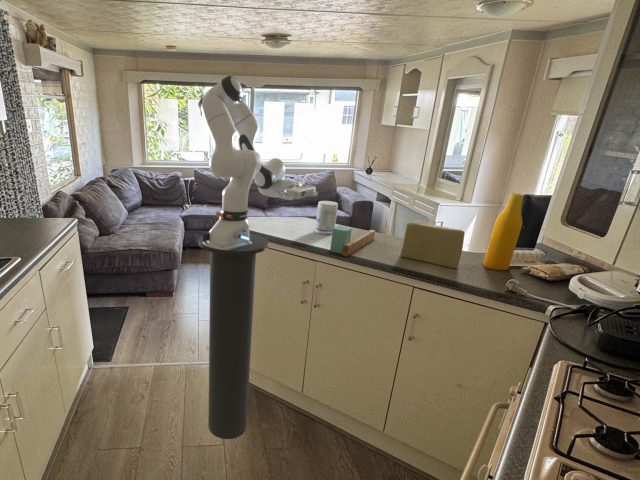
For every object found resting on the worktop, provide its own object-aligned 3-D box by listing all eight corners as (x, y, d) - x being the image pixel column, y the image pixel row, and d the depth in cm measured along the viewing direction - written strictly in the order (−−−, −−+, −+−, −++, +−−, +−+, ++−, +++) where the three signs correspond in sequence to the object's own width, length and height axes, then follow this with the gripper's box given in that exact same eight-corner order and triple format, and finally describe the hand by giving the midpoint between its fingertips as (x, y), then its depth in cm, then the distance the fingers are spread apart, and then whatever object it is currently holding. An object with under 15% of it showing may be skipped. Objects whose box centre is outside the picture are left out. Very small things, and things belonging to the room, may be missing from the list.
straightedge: (346, 256, 179) (348, 246, 177) (341, 255, 180) (342, 244, 178) (373, 239, 204) (375, 230, 203) (368, 238, 206) (370, 229, 204)
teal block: (343, 254, 181) (346, 231, 177) (330, 251, 184) (333, 228, 180) (348, 250, 186) (351, 228, 182) (335, 248, 189) (338, 225, 185)
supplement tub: (311, 230, 217) (315, 200, 211) (329, 229, 219) (332, 200, 213) (319, 235, 208) (323, 204, 202) (337, 234, 210) (341, 204, 204)
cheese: (461, 266, 173) (471, 229, 166) (452, 271, 166) (461, 233, 160) (409, 252, 187) (416, 218, 181) (399, 256, 181) (405, 221, 175)
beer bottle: (509, 272, 168) (532, 197, 156) (482, 268, 171) (503, 194, 160) (507, 265, 175) (530, 194, 163) (482, 261, 179) (502, 191, 167)
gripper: (279, 186, 195) (306, 189, 188) (299, 181, 210) (325, 184, 203) (278, 199, 197) (305, 204, 190) (298, 194, 213) (324, 198, 206)
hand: (315, 194), depth 197 cm, fingers closed
